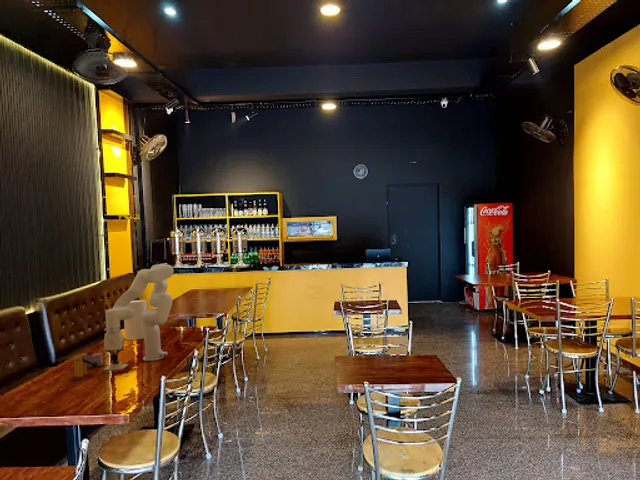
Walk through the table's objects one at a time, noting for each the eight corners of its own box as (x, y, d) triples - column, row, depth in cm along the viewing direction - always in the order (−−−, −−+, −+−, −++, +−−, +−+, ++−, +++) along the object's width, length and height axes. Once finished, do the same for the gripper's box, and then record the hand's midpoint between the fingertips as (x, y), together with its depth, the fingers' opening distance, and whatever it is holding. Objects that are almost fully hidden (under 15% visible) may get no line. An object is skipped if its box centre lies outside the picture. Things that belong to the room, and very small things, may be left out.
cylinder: (144, 339, 373) (142, 302, 372) (121, 340, 373) (118, 303, 372) (152, 333, 390) (150, 298, 389) (130, 334, 390) (128, 299, 389)
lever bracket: (93, 375, 286) (91, 353, 285) (86, 379, 278) (85, 357, 277) (75, 376, 286) (73, 354, 285) (68, 380, 278) (67, 357, 277)
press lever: (97, 367, 283) (99, 362, 283) (95, 369, 280) (97, 364, 280) (77, 359, 283) (79, 354, 283) (75, 361, 280) (77, 355, 280)
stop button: (119, 363, 296) (119, 360, 296) (117, 364, 292) (117, 361, 292) (113, 363, 296) (113, 360, 296) (111, 365, 292) (111, 362, 292)
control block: (128, 367, 299) (127, 360, 298) (122, 372, 290) (122, 365, 289) (109, 368, 298) (109, 361, 298) (103, 373, 289) (103, 366, 289)
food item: (105, 365, 306) (104, 349, 306) (100, 369, 298) (99, 352, 298) (82, 366, 305) (81, 350, 305) (76, 370, 297) (75, 354, 297)
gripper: (97, 332, 289) (99, 363, 290) (123, 330, 289) (125, 362, 290) (103, 329, 297) (104, 360, 297) (128, 328, 297) (130, 358, 297)
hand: (115, 361), depth 294 cm, fingers closed
